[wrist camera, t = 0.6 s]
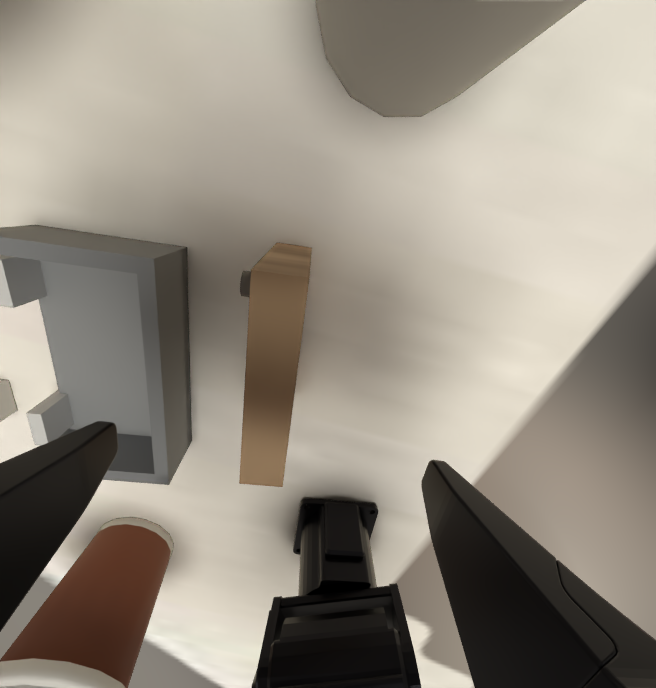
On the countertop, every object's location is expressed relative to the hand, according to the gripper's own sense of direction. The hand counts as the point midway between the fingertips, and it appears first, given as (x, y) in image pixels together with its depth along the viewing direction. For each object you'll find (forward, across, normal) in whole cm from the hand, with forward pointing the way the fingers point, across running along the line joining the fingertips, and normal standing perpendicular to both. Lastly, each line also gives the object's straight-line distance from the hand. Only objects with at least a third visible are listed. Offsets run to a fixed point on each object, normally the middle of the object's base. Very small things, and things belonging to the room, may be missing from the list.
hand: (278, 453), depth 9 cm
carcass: (+12, +13, +4) cm, 18 cm away
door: (+12, +1, 0) cm, 12 cm away
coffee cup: (+12, +11, +23) cm, 28 cm away
